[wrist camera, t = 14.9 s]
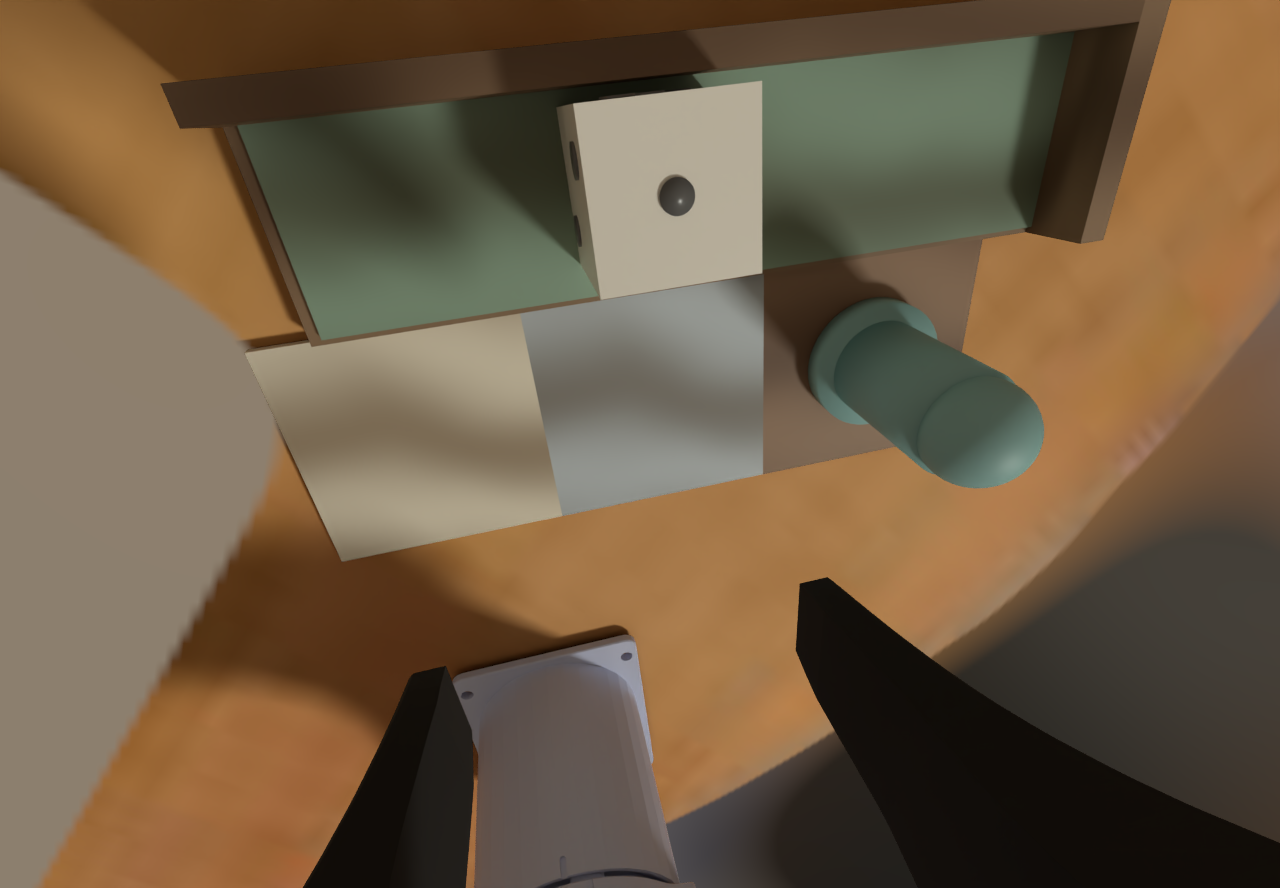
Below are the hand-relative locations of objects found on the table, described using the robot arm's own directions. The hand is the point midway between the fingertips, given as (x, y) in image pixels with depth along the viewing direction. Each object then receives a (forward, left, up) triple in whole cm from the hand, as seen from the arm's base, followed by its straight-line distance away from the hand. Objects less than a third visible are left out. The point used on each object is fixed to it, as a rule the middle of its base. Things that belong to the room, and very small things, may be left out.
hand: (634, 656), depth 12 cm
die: (+8, -3, -9) cm, 13 cm away
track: (+1, -3, -10) cm, 11 cm away
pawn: (+1, -11, -10) cm, 15 cm away
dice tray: (+8, -5, -10) cm, 14 cm away
